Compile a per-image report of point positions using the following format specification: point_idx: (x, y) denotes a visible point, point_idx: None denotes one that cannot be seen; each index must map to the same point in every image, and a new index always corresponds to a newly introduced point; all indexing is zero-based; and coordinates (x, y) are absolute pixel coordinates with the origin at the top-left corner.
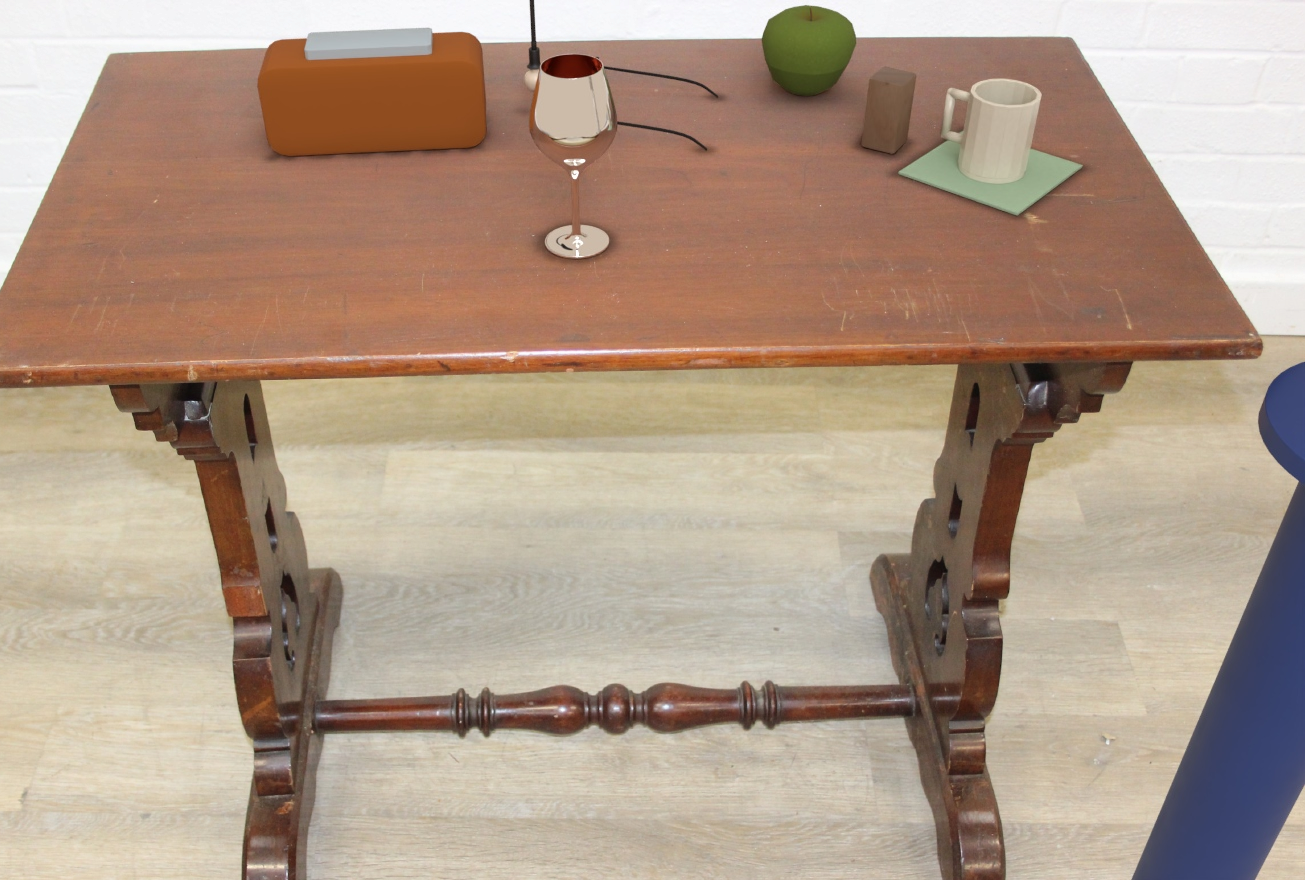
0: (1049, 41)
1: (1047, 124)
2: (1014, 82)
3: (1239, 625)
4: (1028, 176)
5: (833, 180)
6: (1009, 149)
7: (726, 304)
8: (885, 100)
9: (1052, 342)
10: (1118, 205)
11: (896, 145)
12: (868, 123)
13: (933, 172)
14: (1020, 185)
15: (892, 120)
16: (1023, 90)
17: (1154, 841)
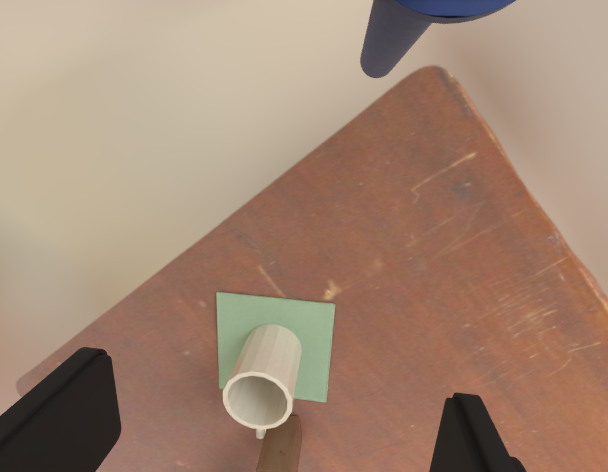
0: (21, 391)
1: (163, 341)
2: (228, 402)
3: (421, 26)
4: (266, 320)
5: (366, 433)
6: (288, 352)
7: (601, 421)
8: (294, 466)
9: (534, 200)
10: (261, 242)
11: (295, 420)
12: (299, 453)
13: (310, 381)
14: (286, 320)
15: (295, 444)
16: (229, 389)
17: (400, 58)
